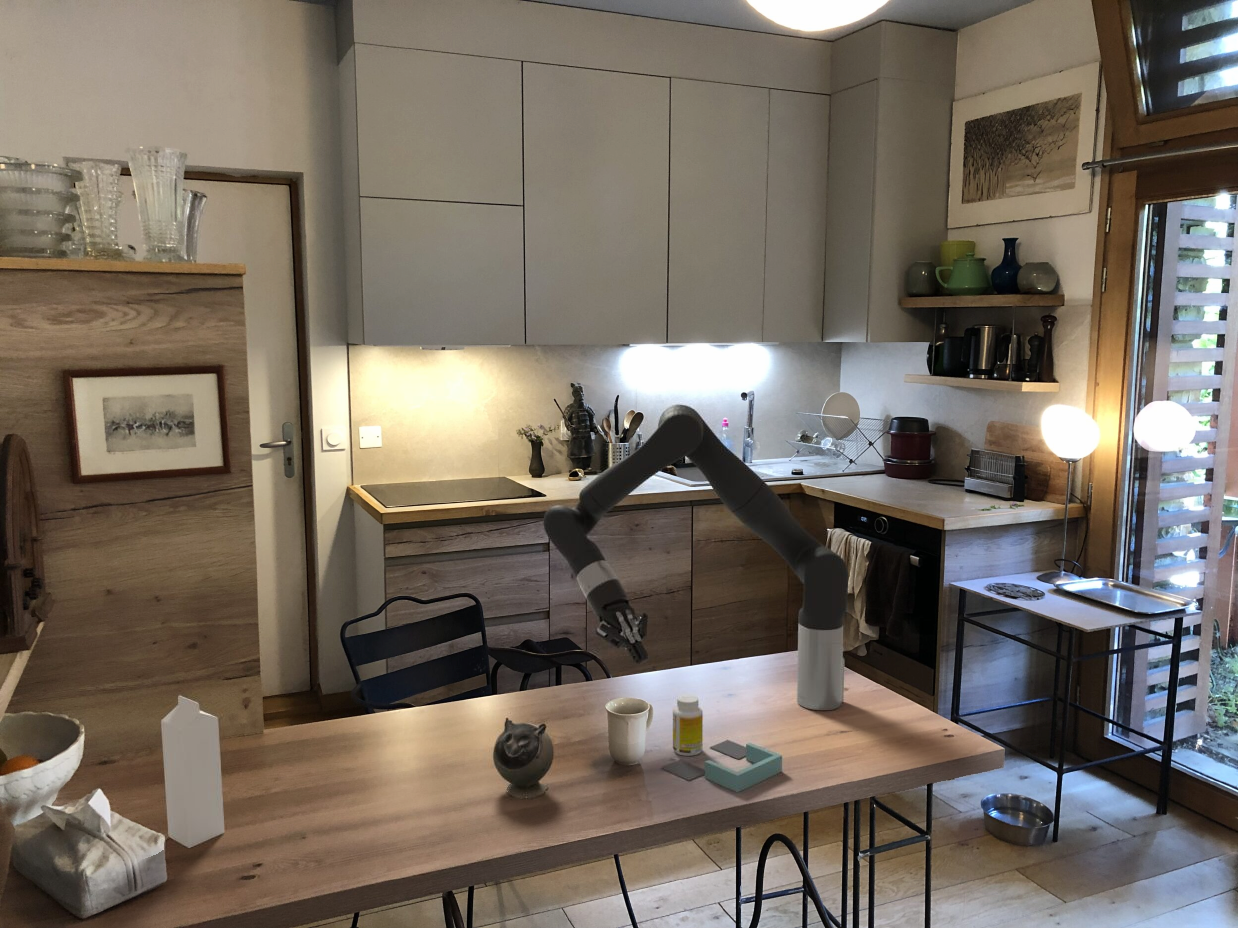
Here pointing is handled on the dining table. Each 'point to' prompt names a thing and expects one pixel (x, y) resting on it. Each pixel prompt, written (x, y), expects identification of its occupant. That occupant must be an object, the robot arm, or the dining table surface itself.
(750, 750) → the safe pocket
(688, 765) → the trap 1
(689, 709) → the supplement bottle
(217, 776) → the milk
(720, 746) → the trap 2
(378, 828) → the dining table surface
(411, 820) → the dining table surface
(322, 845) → the dining table surface
